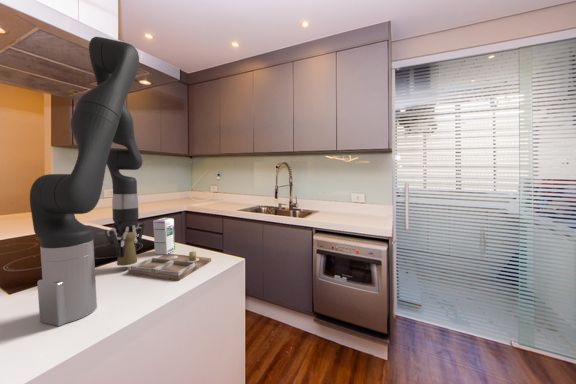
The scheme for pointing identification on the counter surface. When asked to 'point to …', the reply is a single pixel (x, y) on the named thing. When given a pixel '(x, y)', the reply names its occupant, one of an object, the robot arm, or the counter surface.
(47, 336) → the counter surface
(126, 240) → the cork
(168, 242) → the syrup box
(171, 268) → the board
